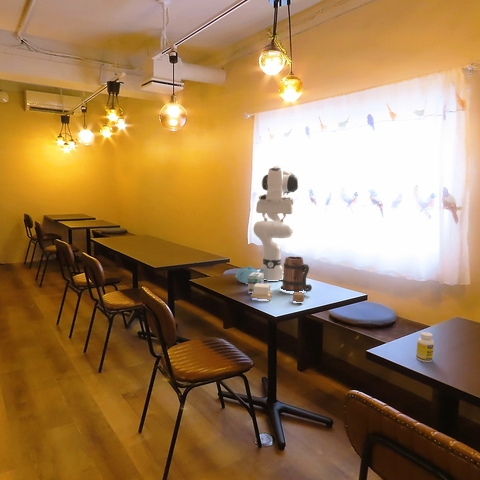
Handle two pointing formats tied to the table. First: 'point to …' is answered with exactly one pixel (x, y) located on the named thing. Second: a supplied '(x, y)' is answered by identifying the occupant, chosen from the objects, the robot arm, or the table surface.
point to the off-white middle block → (261, 288)
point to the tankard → (295, 275)
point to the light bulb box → (255, 280)
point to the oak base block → (262, 296)
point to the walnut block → (298, 296)
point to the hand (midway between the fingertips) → (273, 221)
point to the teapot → (246, 273)
